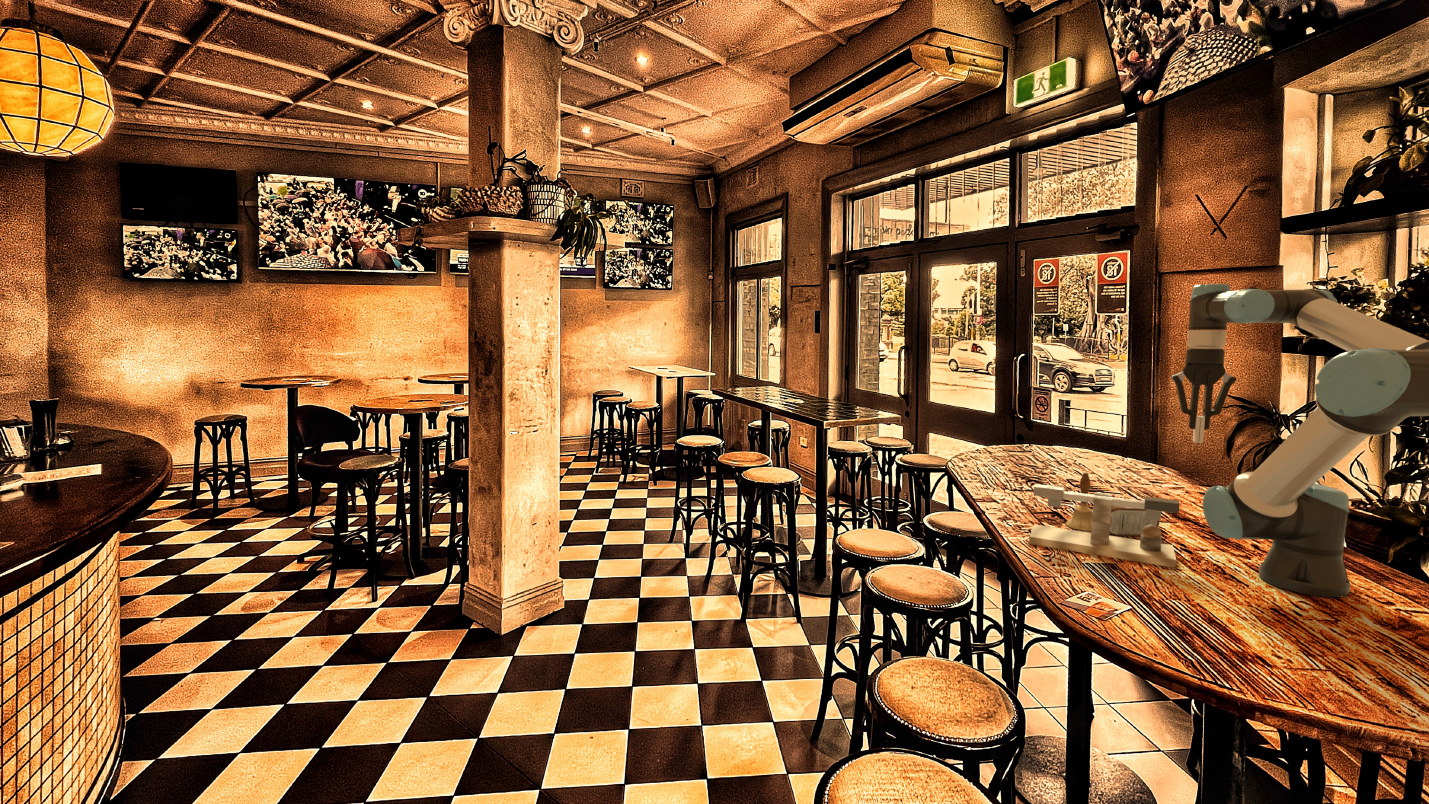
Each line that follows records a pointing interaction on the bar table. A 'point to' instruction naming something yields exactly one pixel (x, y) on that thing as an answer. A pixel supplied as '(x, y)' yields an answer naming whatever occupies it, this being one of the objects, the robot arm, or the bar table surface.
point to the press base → (1102, 550)
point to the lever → (1149, 503)
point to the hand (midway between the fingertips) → (1197, 442)
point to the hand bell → (1082, 509)
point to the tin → (1129, 521)
